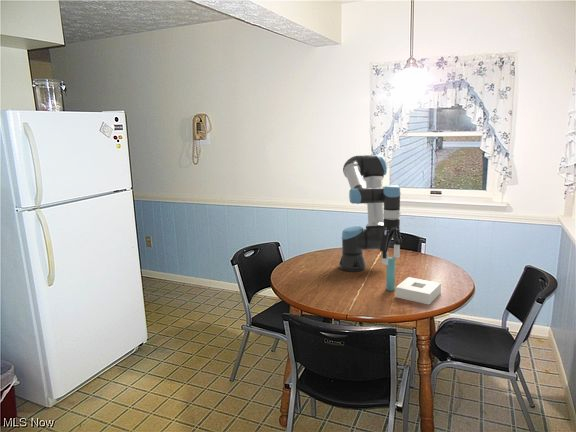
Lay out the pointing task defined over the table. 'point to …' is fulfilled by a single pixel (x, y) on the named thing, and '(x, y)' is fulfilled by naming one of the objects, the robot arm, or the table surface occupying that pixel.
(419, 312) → the table surface
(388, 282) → the peg
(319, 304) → the table surface
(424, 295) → the socket board
